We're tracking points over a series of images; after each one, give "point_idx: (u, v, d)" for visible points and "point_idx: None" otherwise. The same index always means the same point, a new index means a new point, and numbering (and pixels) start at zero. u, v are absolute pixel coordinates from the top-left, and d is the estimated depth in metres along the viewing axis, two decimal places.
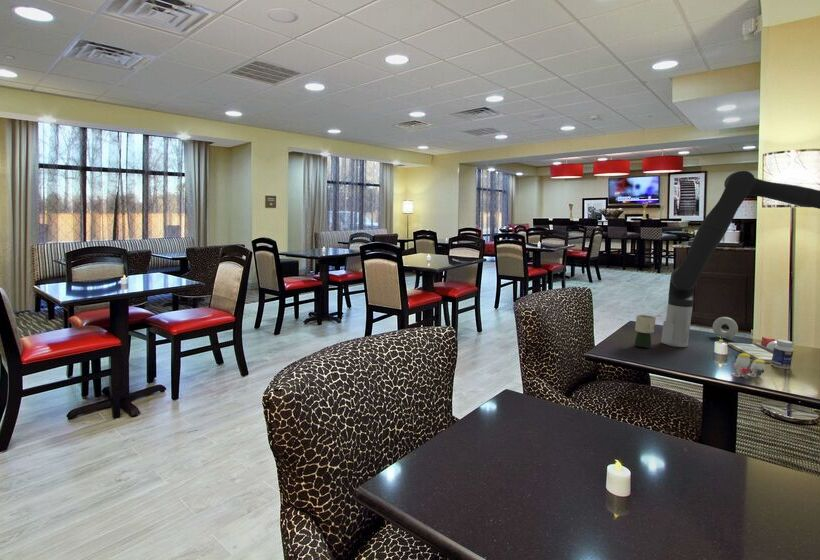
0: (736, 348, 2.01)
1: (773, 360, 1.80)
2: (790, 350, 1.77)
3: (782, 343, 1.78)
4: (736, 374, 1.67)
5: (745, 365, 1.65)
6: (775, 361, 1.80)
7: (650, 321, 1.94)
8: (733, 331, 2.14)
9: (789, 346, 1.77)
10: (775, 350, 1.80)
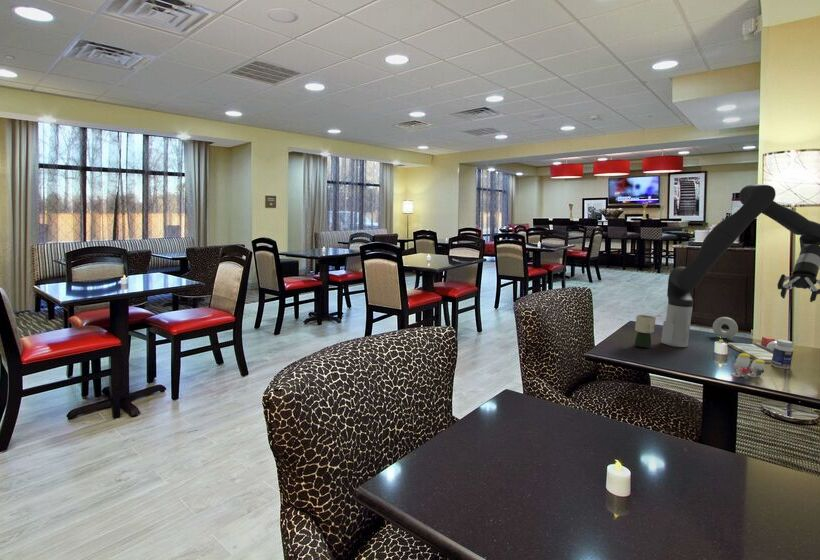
0: (736, 348, 2.01)
1: (773, 360, 1.80)
2: (790, 350, 1.77)
3: (782, 343, 1.78)
4: (736, 374, 1.67)
5: (745, 365, 1.65)
6: (775, 361, 1.80)
7: (650, 321, 1.94)
8: (733, 331, 2.14)
9: (789, 346, 1.77)
10: (775, 350, 1.80)
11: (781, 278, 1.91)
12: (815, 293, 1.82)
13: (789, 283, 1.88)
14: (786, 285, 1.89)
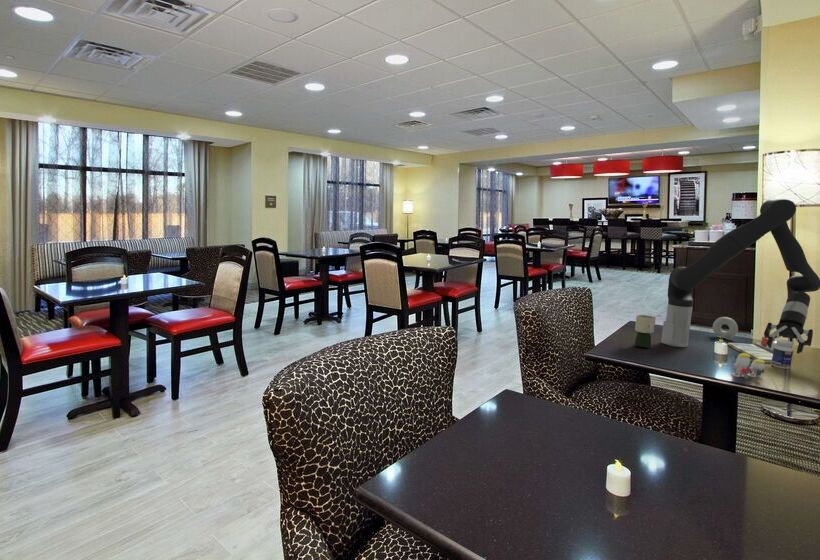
0: (736, 348, 2.01)
1: (773, 360, 1.80)
2: (790, 350, 1.77)
3: (782, 343, 1.78)
4: (736, 374, 1.67)
5: (745, 365, 1.65)
6: (775, 361, 1.80)
7: (650, 321, 1.94)
8: (733, 331, 2.14)
9: (789, 346, 1.77)
10: (775, 350, 1.80)
11: (768, 326, 1.87)
12: (802, 344, 1.77)
13: (776, 332, 1.84)
14: (773, 334, 1.84)
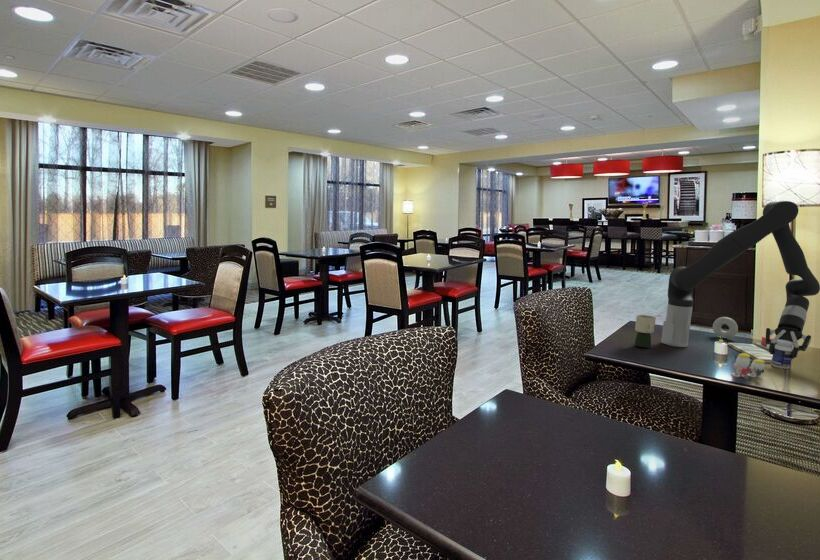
0: (736, 348, 2.01)
1: (773, 360, 1.80)
2: (790, 350, 1.77)
3: (782, 343, 1.78)
4: (736, 374, 1.67)
5: (745, 365, 1.65)
6: (775, 361, 1.80)
7: (650, 321, 1.94)
8: (733, 331, 2.14)
9: (789, 346, 1.77)
10: (775, 350, 1.80)
11: (767, 332, 1.85)
12: (796, 350, 1.77)
13: (776, 338, 1.82)
14: (774, 340, 1.82)
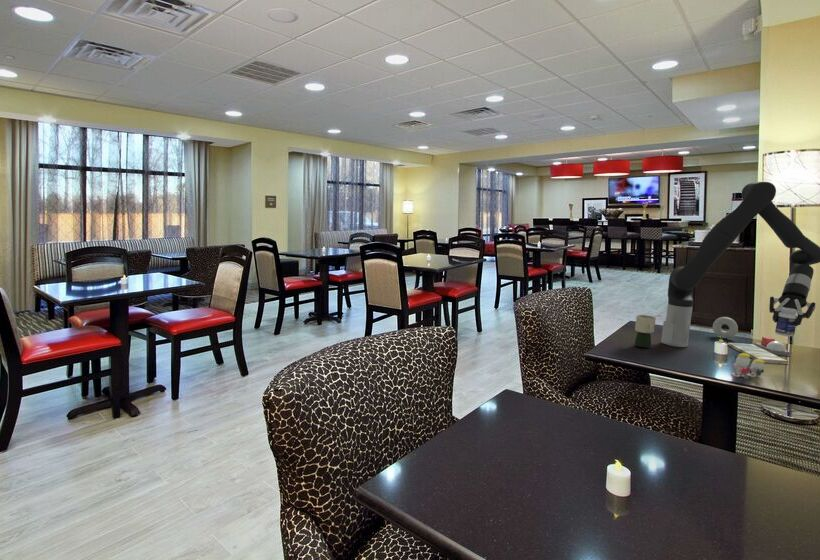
0: (736, 348, 2.01)
1: (777, 328, 1.79)
2: (794, 317, 1.76)
3: (786, 310, 1.76)
4: (736, 374, 1.67)
5: (745, 365, 1.65)
6: (778, 328, 1.78)
7: (650, 321, 1.94)
8: (733, 331, 2.14)
9: (793, 313, 1.76)
10: (779, 318, 1.78)
11: (771, 301, 1.84)
12: (800, 317, 1.75)
13: (780, 306, 1.81)
14: (778, 308, 1.81)
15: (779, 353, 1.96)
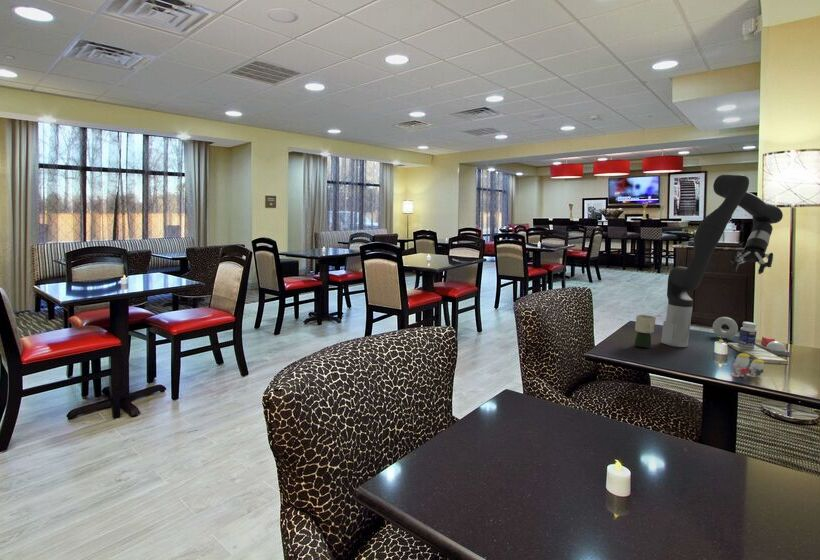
0: (736, 348, 2.01)
1: (739, 340, 2.03)
2: (754, 331, 1.99)
3: (747, 324, 2.00)
4: (735, 374, 1.67)
5: (744, 365, 1.65)
6: (740, 340, 2.02)
7: (650, 321, 1.94)
8: (733, 331, 2.14)
9: (753, 327, 2.00)
10: (741, 331, 2.02)
11: (734, 253, 2.07)
12: (763, 266, 1.97)
13: (741, 257, 2.04)
14: (738, 259, 2.04)
15: (779, 353, 1.96)
